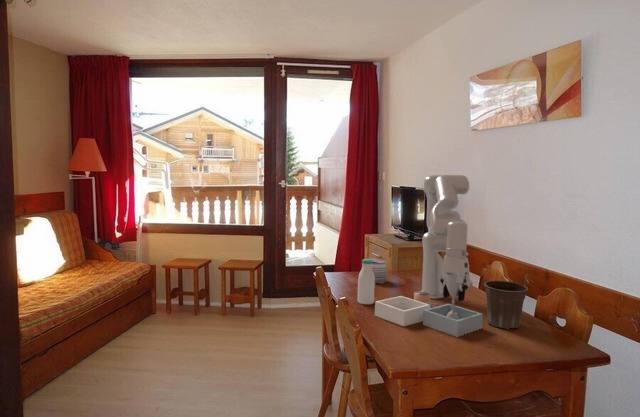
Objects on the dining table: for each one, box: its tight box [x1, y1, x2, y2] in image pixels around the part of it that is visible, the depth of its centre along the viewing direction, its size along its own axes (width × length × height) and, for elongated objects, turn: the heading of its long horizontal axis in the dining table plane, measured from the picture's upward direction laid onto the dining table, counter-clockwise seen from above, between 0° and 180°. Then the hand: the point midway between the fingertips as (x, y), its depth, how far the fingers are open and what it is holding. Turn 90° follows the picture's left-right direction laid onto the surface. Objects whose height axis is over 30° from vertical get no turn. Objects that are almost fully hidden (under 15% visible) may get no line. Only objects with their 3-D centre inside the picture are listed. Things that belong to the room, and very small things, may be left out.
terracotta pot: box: [413, 291, 431, 303], centre depth 200 cm, size 7×7×7 cm
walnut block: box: [426, 301, 439, 308], centre depth 192 cm, size 5×5×5 cm
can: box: [370, 258, 387, 284], centre depth 249 cm, size 11×11×12 cm
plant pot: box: [483, 280, 529, 329], centre depth 182 cm, size 16×16×16 cm
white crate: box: [374, 295, 430, 327], centre depth 188 cm, size 16×16×6 cm
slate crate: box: [422, 303, 484, 338], centre depth 178 cm, size 16×16×6 cm
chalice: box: [446, 273, 460, 320], centre depth 177 cm, size 7×7×18 cm
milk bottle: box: [357, 258, 376, 305], centre depth 208 cm, size 8×8×20 cm
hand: (453, 298), depth 177 cm, fingers closed on chalice, 6 cm apart
